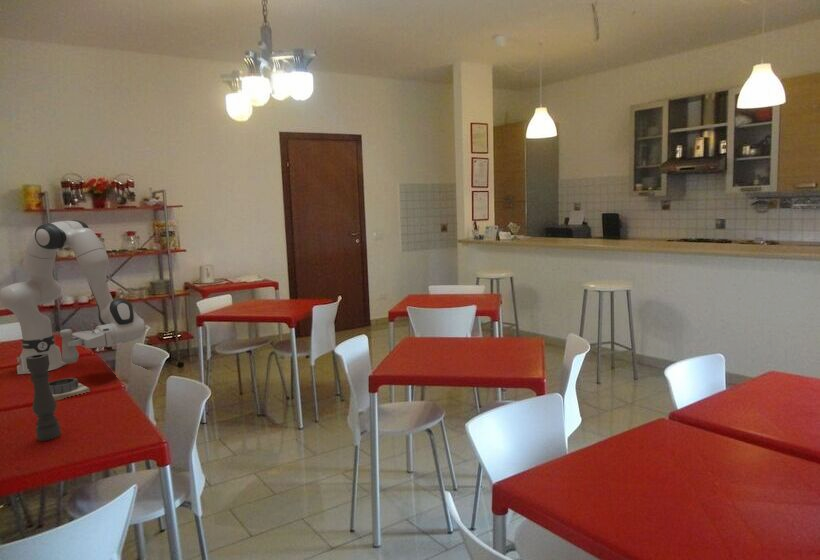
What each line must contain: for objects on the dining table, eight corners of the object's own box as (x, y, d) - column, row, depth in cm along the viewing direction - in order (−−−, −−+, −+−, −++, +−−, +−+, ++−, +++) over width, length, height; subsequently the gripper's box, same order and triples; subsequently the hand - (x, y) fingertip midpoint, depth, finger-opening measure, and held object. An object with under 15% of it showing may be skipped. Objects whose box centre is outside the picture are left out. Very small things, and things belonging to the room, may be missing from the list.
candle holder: (43, 433, 183) (31, 354, 179) (64, 431, 183) (53, 352, 180) (33, 441, 177) (20, 359, 173) (54, 439, 177) (42, 358, 174)
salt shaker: (83, 359, 234) (77, 327, 232) (73, 364, 229) (67, 331, 226) (69, 360, 235) (63, 328, 233) (59, 364, 229) (53, 332, 227)
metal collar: (44, 391, 223) (42, 383, 222) (73, 383, 230) (72, 376, 229) (51, 396, 216) (50, 388, 215) (81, 388, 223) (80, 381, 222)
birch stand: (37, 395, 223) (36, 391, 223) (78, 385, 233) (77, 381, 233) (47, 402, 213) (47, 398, 213) (89, 392, 223) (89, 388, 223)
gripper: (93, 325, 246) (56, 332, 237) (111, 331, 232) (72, 338, 222) (95, 340, 247) (58, 347, 238) (113, 346, 233) (74, 355, 223)
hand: (65, 343), depth 230 cm, fingers closed on salt shaker, 3 cm apart
